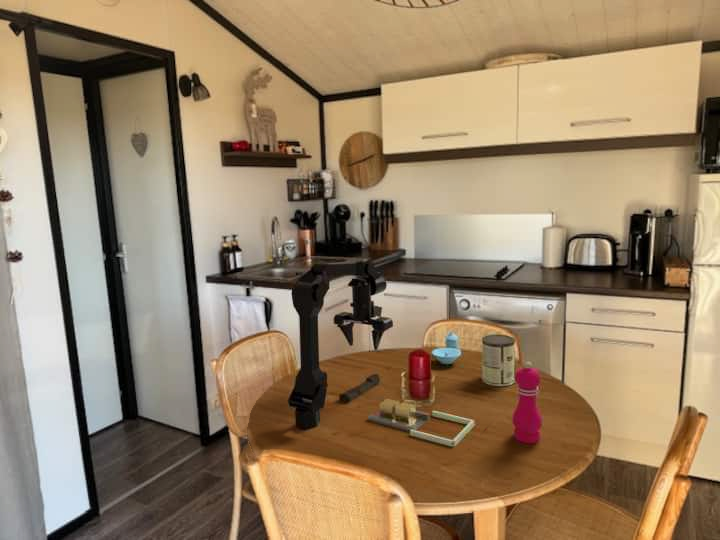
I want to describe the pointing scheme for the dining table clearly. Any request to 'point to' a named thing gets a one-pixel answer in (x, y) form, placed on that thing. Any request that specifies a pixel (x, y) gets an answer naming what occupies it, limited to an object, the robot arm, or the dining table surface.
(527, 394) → the pepper mill
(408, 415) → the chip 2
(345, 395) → the wooden stick
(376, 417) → the slot rail
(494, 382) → the coffee can
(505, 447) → the dining table surface
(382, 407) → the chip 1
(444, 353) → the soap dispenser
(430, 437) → the tray
